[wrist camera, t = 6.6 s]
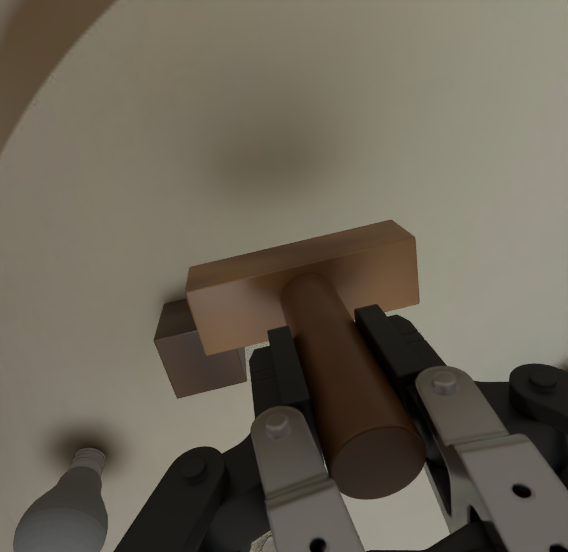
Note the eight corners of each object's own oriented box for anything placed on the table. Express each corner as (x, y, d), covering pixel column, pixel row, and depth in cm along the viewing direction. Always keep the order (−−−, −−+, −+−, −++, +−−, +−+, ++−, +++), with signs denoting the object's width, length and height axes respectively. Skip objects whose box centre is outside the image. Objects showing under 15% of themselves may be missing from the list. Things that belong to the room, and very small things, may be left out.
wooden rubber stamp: (207, 325, 19) (193, 561, 9) (188, 266, 18) (149, 469, 8) (397, 279, 19) (569, 461, 10) (391, 218, 18) (583, 358, 8)
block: (183, 357, 33) (176, 399, 29) (163, 303, 31) (152, 340, 27) (244, 342, 33) (247, 381, 29) (228, 288, 31) (228, 321, 27)
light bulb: (135, 472, 38) (106, 593, 29) (68, 485, 37) (17, 612, 28) (115, 422, 35) (77, 538, 26) (43, 436, 35) (-22, 558, 26)
